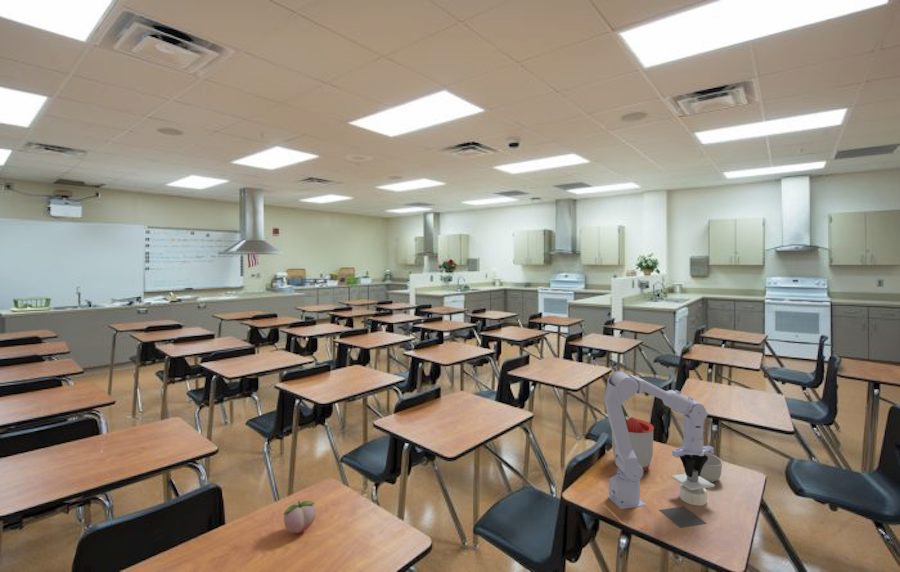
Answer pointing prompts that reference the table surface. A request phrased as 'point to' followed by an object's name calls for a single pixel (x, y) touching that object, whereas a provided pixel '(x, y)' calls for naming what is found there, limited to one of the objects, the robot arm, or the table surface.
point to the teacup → (711, 468)
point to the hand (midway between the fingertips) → (692, 475)
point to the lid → (693, 481)
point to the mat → (682, 517)
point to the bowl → (693, 495)
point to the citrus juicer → (639, 440)
